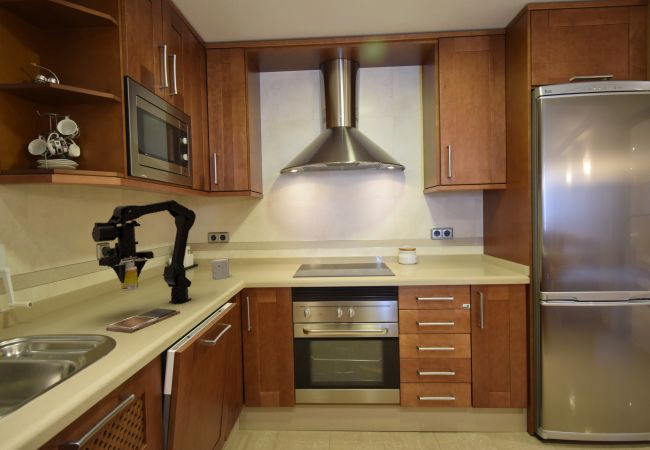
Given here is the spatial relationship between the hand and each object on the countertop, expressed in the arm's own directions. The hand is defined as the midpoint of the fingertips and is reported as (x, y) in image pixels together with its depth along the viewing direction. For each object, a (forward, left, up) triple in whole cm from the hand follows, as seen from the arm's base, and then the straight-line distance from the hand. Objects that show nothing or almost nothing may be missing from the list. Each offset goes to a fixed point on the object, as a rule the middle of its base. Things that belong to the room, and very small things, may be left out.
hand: (129, 281), depth 126 cm
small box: (-66, -10, -13) cm, 68 cm away
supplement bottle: (0, 0, -3) cm, 3 cm away
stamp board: (+4, +11, -13) cm, 18 cm away
